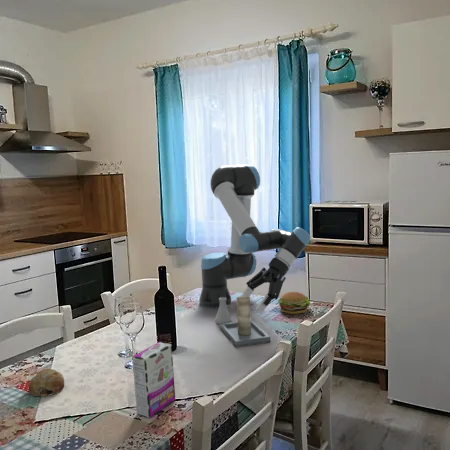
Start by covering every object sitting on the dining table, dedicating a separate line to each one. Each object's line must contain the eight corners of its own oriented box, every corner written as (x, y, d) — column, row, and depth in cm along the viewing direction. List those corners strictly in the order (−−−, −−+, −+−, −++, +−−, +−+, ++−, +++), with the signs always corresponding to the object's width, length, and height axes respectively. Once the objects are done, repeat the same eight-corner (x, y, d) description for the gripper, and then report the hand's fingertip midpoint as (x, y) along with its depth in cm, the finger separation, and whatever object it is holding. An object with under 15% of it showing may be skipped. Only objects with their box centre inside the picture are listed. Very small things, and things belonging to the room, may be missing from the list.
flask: (230, 325, 191) (229, 301, 190) (213, 324, 192) (212, 300, 191) (233, 319, 198) (232, 296, 197) (217, 318, 199) (216, 295, 198)
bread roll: (31, 410, 136) (30, 391, 132) (26, 383, 144) (25, 364, 140) (66, 401, 141) (66, 382, 137) (60, 375, 148) (60, 357, 144)
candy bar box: (162, 396, 134) (158, 341, 132) (176, 400, 131) (173, 344, 129) (135, 414, 124) (131, 355, 122) (149, 419, 122) (145, 359, 120)
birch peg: (236, 332, 181) (234, 296, 179) (248, 330, 182) (247, 295, 180) (240, 336, 176) (239, 300, 174) (252, 334, 177) (251, 298, 176)
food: (277, 315, 201) (277, 297, 200) (278, 305, 214) (278, 288, 213) (310, 316, 198) (310, 297, 197) (309, 306, 212) (309, 288, 211)
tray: (220, 328, 187) (220, 324, 186) (251, 324, 190) (251, 319, 190) (236, 347, 168) (236, 341, 167) (270, 341, 171) (270, 336, 171)
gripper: (306, 274, 173) (273, 321, 168) (270, 262, 195) (240, 303, 190) (294, 262, 169) (259, 309, 165) (259, 251, 192) (228, 293, 187)
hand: (249, 306), depth 178 cm, fingers open, 13 cm apart
